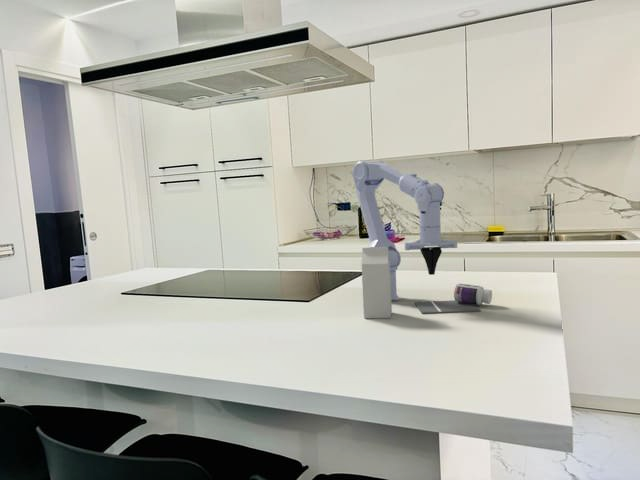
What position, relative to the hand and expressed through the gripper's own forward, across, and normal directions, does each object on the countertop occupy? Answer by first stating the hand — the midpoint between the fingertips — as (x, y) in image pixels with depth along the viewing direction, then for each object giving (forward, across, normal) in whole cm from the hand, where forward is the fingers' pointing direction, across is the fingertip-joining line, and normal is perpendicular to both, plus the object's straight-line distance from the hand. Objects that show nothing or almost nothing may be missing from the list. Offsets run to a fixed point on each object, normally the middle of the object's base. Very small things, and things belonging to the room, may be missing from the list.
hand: (431, 274), depth 142 cm
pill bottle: (+6, +8, +4) cm, 11 cm away
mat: (+10, +4, 0) cm, 11 cm away
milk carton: (+10, -16, -6) cm, 20 cm away
